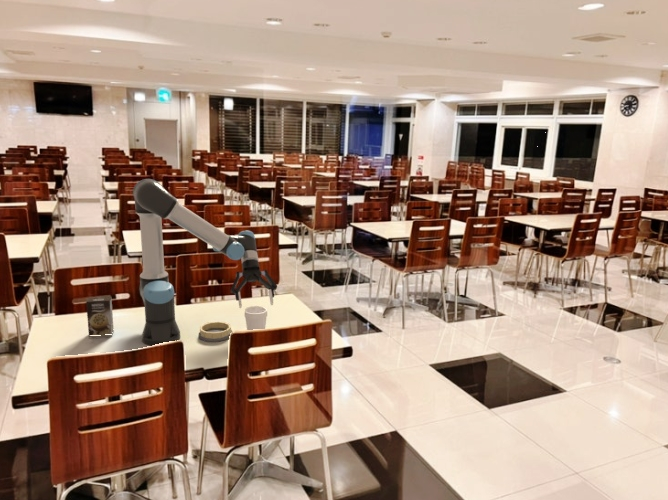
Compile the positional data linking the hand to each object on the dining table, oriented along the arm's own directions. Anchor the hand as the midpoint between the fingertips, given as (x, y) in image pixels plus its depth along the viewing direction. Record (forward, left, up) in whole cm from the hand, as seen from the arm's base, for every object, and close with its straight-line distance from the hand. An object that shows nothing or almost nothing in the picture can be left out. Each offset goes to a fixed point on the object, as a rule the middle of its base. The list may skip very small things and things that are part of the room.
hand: (256, 305), depth 223 cm
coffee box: (-63, +13, -13) cm, 66 cm away
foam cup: (-1, -7, -12) cm, 15 cm away
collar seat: (-17, +1, -12) cm, 21 cm away
